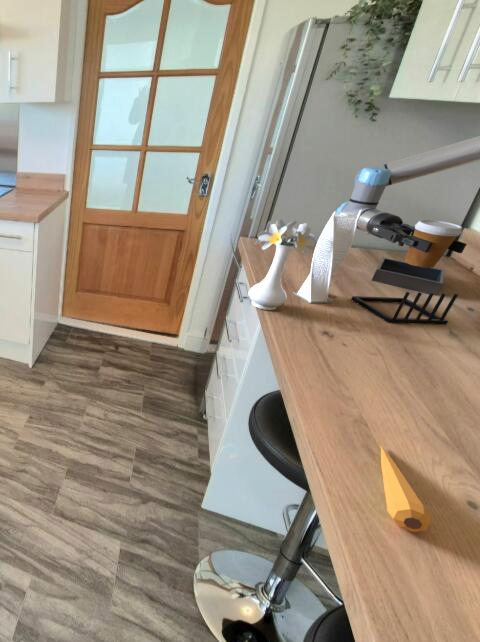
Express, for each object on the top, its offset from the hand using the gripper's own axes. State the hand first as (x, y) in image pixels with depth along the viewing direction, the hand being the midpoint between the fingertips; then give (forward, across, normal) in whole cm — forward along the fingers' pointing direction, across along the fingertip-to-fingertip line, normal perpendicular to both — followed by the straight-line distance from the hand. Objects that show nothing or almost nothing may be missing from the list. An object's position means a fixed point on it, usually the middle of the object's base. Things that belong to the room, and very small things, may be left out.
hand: (445, 248), depth 118 cm
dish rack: (+4, +9, -18) cm, 20 cm away
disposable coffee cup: (-5, 0, -7) cm, 8 cm away
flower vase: (+3, +45, -18) cm, 48 cm away
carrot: (+67, +59, -18) cm, 91 cm away
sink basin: (-18, -12, -18) cm, 28 cm away
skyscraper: (-2, +28, -18) cm, 33 cm away
